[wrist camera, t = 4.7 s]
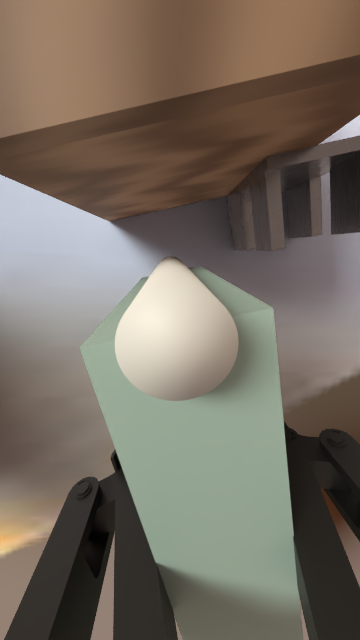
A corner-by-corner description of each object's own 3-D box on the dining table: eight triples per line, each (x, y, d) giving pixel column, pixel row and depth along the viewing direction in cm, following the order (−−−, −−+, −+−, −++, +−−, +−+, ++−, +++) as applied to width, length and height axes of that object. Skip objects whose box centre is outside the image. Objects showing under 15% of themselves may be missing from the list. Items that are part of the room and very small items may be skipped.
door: (186, 457, 21) (212, 763, 9) (138, 263, 16) (34, 314, 4) (245, 446, 21) (357, 738, 8) (214, 247, 16) (375, 243, 4)
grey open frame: (234, 249, 29) (274, 250, 17) (226, 195, 27) (266, 156, 16) (296, 236, 28) (380, 228, 17) (293, 181, 27) (384, 130, 15)
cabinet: (107, 224, 28) (-79, 156, 7) (71, 92, 24) (-495, -780, 4) (258, 191, 27) (518, 18, 7) (245, 51, 23) (718, -1248, 3)
